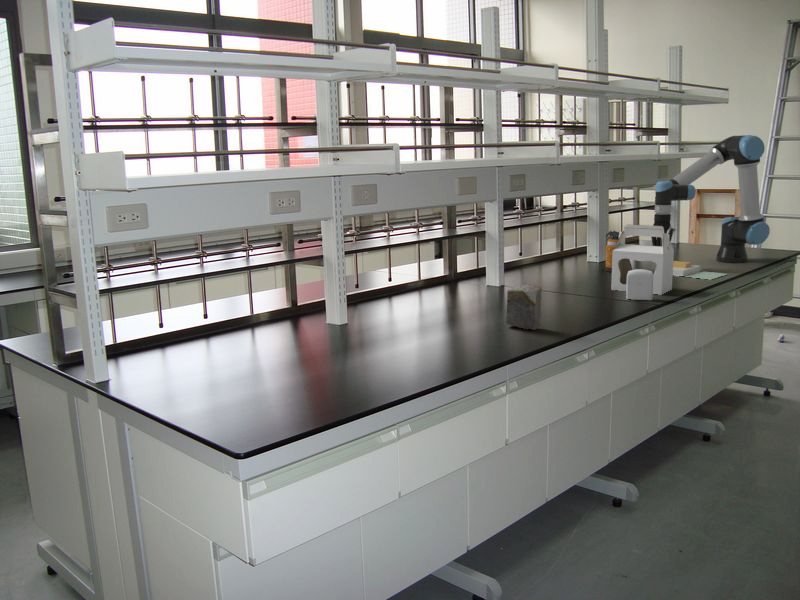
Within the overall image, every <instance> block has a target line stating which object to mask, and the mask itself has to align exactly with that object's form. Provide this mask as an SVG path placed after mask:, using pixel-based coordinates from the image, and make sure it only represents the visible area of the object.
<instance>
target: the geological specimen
mask: <svg viewBox="0 0 800 600" xmlns="http://www.w3.org/2000/svg"><path fill="white" fill-rule="evenodd" d="M541 301H542V286H541V287H540V286H539V285H531V284H527V285H525V284H522V285H516V286H512V287H510V288H508V290H507V293H506V320H505V322H506V323H505V325H507V326H510V327H511V326H512V327H513V326H514V327H517V328H519V329H521V328H523V329H522V330H528V329H531V330H533V331H536V330H537V329H539V327H540V326H541V317H542V316H541V315H542V314H541V313H542V312H541V311H542V310H541V308H542V307H541V306H542V304H541ZM531 330H530V331H531Z"/></svg>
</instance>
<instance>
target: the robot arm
mask: <svg viewBox="0 0 800 600" xmlns="http://www.w3.org/2000/svg"><path fill="white" fill-rule="evenodd" d="M764 153H765V143H764V141H763V139H761V137H759V136H757V135H751V134H747V135H746V134H745V135H744V134H743V135H732V136H729V137H727V138H724V139H723V140H722V141H720V142H718V143H717V144H715V145H714V146H713V147H711V148H710V149H709V151H708V152H707V153H706V154H705V155H703V156H702V157H701V158H699V159H697V161H695V162H694V163H692V164H690V165H689V166H688V167H686V168H685V169H684V170H682V171H681V172H680V173H678V174H677V175H676V176H674V177H673V178H671V179H669V180H666V181H665V180H663V181H661V180H660V181H657V182H656V184H655V191H654V192H655V194H654V195H655V196H654V200H655V201H654V216H653V217H654V218H653V221H654V222H653V225H652V226H663V227H664V233H666V234H670V242H671V243H672V239H673V234H674V232H675V231H676V228H675V227H672V224H671V220H672V218H671V216H672V215H671V213H672V202H674V201H675V202H676V201H692V200H694V198H695V197H696V192H697V191H696V187H695V186H694V185H692V183H694V182H695V181H697V180H698V179H699V178H701V177H702V176H704V175H705V174H707V173H708V172H709V171H711V170H712V169H713V168H715V167H717V166H718V165H723V164H724V163H725V162H727V161H731V160H732V161H733V165H734V167H736V168H737V173H738V187H739V188H738V189H739V192H738V193H739V203H740V204H739V206H740V216H730V217H729V216H728V217H724V218H722V222H721V234H720V235H721V237H720V246H719V249H718V252H717V253H716V257H715V260H716V261H717V262H723V263H732V264H733V263H747V262H748V261H749V260H748V259H749V255H748V253H747V249H746V244H748V245H751V246H752V245H753V246H754V245H755V246H756V245H757V246H758V245H761V244H763V243H764V242H765V241H766V240H767V239H768V237H769V235H770V232H771V231H770V230H771V228H770V226H769V224H768V223H766V222H765V217H764V215H763V214H762V213H761V207H760V191H759V190H760V188H759V177H758V176H759V175H758V174H759V173H758V165H759V164H760V163H761V158H762V156H763V154H764ZM651 244H652V246H662V238H661V237H651Z"/></svg>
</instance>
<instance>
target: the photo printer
mask: <svg viewBox="0 0 800 600" xmlns="http://www.w3.org/2000/svg"><path fill="white" fill-rule="evenodd" d="M653 274H654V273H653V271H651V270H648V269H643V268H642V269H641V268H637V269H632V270H631V271H628V274H627V287H626V292H625V297H626V300H627V299H631V300H632V301H637V300H638V301H653V298H654V295H653ZM631 300H630V301H631Z"/></svg>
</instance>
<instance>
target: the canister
mask: <svg viewBox="0 0 800 600" xmlns="http://www.w3.org/2000/svg"><path fill="white" fill-rule="evenodd" d="M619 232H620V231H616V230H613V231H612V230H610V231H609V232H607V234H605V239H606V240H605V241H606V246H605V260H604V261H605V269H604V270H605V271H607V272H608V273H612V257H613V249H614V247H615V245H616V243H617V241H618V239H619Z"/></svg>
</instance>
